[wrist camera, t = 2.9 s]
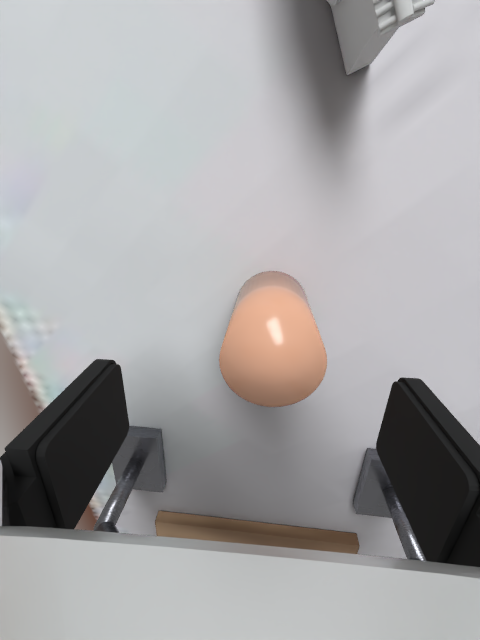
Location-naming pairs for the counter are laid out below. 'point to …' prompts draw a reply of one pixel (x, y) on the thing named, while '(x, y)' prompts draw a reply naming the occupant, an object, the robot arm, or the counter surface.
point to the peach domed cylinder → (272, 343)
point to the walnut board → (253, 533)
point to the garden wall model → (370, 26)
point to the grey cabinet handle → (149, 474)
